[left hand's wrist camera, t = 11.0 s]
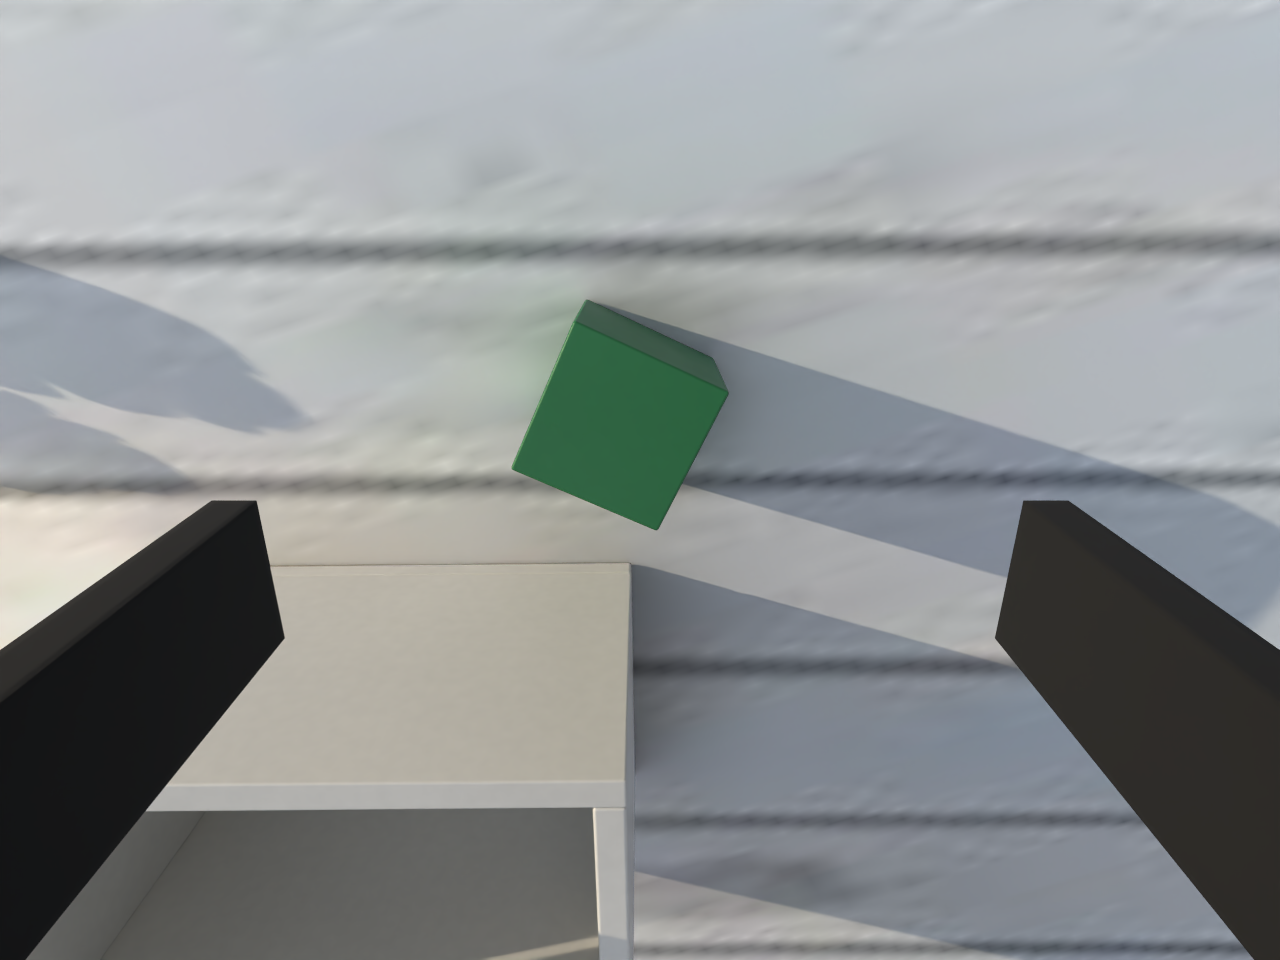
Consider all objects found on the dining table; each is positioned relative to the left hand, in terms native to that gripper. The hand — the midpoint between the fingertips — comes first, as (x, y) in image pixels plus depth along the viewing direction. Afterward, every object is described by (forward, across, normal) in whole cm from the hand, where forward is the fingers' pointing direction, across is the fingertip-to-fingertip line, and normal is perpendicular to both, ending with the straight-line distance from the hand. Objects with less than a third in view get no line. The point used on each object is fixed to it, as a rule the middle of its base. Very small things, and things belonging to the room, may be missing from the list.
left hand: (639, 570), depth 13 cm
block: (+13, +1, 0) cm, 13 cm away
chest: (+13, +9, +12) cm, 19 cm away
